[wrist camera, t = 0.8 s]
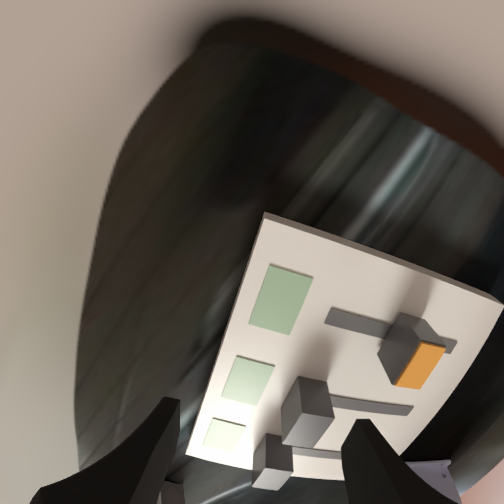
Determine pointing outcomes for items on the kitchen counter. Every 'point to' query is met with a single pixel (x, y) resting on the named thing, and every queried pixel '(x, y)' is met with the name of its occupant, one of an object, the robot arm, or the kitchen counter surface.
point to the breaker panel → (326, 353)
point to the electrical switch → (171, 494)
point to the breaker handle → (410, 351)
